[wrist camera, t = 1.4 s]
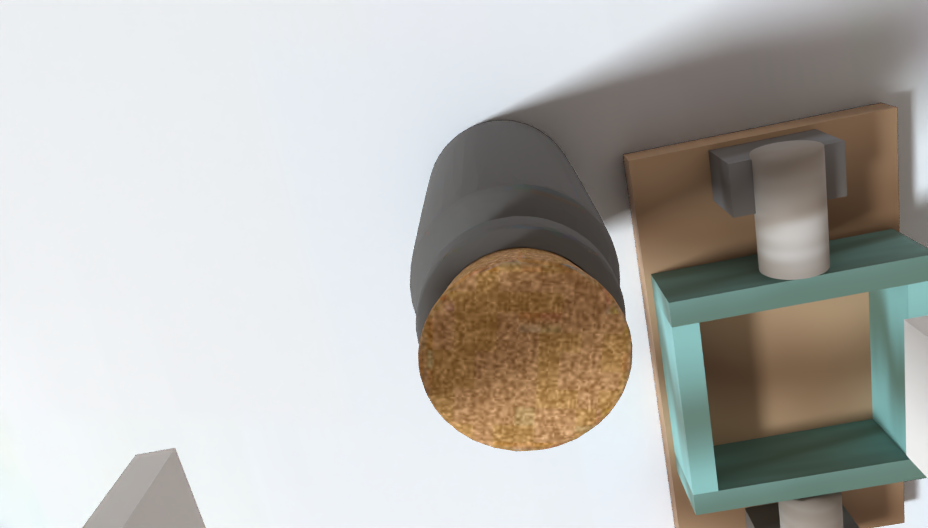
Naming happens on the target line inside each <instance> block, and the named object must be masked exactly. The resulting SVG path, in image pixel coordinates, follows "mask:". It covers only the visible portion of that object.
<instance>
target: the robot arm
mask: <svg viewBox="0 0 928 528" xmlns="http://www.w3.org/2000/svg"><path fill="white" fill-rule="evenodd" d="M904 347H905V408H906V456H907V457H908V458H909V459H910V460H911V461H912V462H913V463H914V464H915V465H916V466H917V467H918V468H919V470H920V471H921V472H922V473H923V474H924V475H925V476H926V477H927V478H928V315H927V316H921V317H915V318H910V319H904ZM83 528H206V527H205V525H204V522H203V520H202V517H201V514H200V512H199V509H198V507H197V504H196V501H195V499H194V496H193V494H192V491H191V488H190V486H189V483H188V480H187V478H186V475H185V473H184V470H183V467H182V465H181V462H180V460H179V457H178V454H177V452H176V449H175V448H172V449H166V450H161V451H155V452H149V453H143V454H138V455H135V457H134V458H133V459H132V461H131V462H130V463H129V465H128V466H127V468H126V469H125V470H124V472H123V473H122V474H121V476H120V477H119V478H118V480H117V481H116V483H115V484H114V485H113V487H112V488H111V489H110V491H109V492H108V493H107V495H106V496H105V498H104V499H103V500H102V502H101V503H100V504H99V506H98V507H97V508H96V510H95V511H94V513H93V514H92V515H91V517H90V518H89V519H88V521H87V522H86V523H85V525H84V526H83Z"/></svg>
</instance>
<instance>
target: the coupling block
mask: <svg viewBox="0 0 928 528" xmlns="http://www.w3.org/2000/svg"><path fill="white" fill-rule="evenodd" d="M623 159H624V166H625V173H626V180H627V188H628V195H629V202H630V209H631V216H632V223H633V231H634V238H635V245H636V252H637V259H638V266H639V274H640V281H641V288H642V295H643V302H644V309H645V317H646V324H647V331H648V338H649V345H650V352H651V360H652V367H653V374H654V381H655V388H656V395H657V403H658V410H659V417H660V424H661V431H662V438H663V446H664V453H665V460H666V467H667V474H668V481H669V489H670V496H671V503H672V510H673V517H674V524H675V528H874V527H880V526H887V525H893V524H899V523H904V481H910V480H916V479H922V478H927V477H926V476H925V475H924V474H923V473H922V472H921V471H920V470H919V468H918V467H917V466H916V465H915V464H914V463H913V462H912V461H911V460H910V459H909V458H908V457H907V456H906V408H905V347H904V319H910V318H915V317H921V316H927V315H928V248H926V247H924V246H922V245H921V244H919V243H917V242H915V241H914V240H912V239H910V238H908V237H907V236H905V235H903V234H901V233H900V232H899V180H898V122H897V107H894V106H891V105H887V104H883V103H878V104H873V105H868V106H863V107H858V108H853V109H848V110H843V111H838V112H833V113H828V114H823V115H818V116H813V117H808V118H803V119H798V120H793V121H788V122H783V123H778V124H773V125H768V126H763V127H758V128H753V129H748V130H743V131H738V132H733V133H728V134H723V135H718V136H713V137H708V138H703V139H698V140H693V141H688V142H683V143H678V144H673V145H668V146H663V147H658V148H653V149H648V150H643V151H638V152H633V153H628V154H623Z"/></svg>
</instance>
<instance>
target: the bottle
mask: <svg viewBox="0 0 928 528" xmlns="http://www.w3.org/2000/svg"><path fill="white" fill-rule="evenodd" d="M410 290H411V298H412V303H413V307H414V310H415V313H416V332H417V337H418V343H419V351H418V360H419V370H420V376H421V379H422V382H423V385H424V388H425V391H426V393H427V395H428V397H429V399H430V401H431V402H432V404H433V406H434V407H435V409H436V410H437V411H438V412H439V414H440V415H441V416H442V417H443V418H444V419H445V420H446V421H447V422H448V423H449V424H450V425H452V426H453V427H454V428H455V429H456V430H458V431H459V432H461V433H462V434H464V435H466V436H467V437H469V438H471V439H472V440H475V441H477V442H480V443H482V444H485V445H488V446H491V447H494V448H500V449H506V450H512V451H531V450H542V449H548V448H552V447H556V446H559V445H562V444H564V443H567V442H569V441H572V440H574V439H577V438H578V437H580V436H581V435H583V434H584V433H586V432H588V431H589V430H591V429H592V428H593V427H595V426H596V425H598V424H599V423H600V422H601V421H602V420H603V419H604V418H605V417H606V416H607V415H608V414H609V413H610V411H611V410H612V409H613V407H614V406H615V405H616V403H617V402H618V400H619V398H620V397H621V395H622V393H623V391H624V388H625V386H626V383H627V381H628V378H629V374H630V370H631V364H632V341H631V335H630V330H629V327H628V324H627V322H626V318H625V305H624V299H623V295H622V292H621V289H620V274H619V263H618V259H617V255H616V251H615V248H614V245H613V242H612V240H611V237H610V235H609V233H608V231H607V229H606V227H605V225H604V223H603V221H602V219H601V217H600V215H599V214H598V212H597V210H596V208H595V207H594V205H593V203H592V201H591V200H590V198H589V196H588V194H587V192H586V191H585V189H584V187H583V185H582V184H581V182H580V180H579V178H578V177H577V175H576V173H575V171H574V170H573V168H572V166H571V165H570V163H569V161H568V160H567V158H566V156H565V155H564V153H563V152H562V151H561V149H560V148H559V147H558V146H557V144H556V143H555V142H554V141H553V140H552V139H550V138H549V137H548V136H547V135H545V134H544V133H542V132H541V131H539V130H538V129H536V128H534V127H532V126H529V125H527V124H524V123H520V122H516V121H507V120H498V121H489V122H485V123H481V124H478V125H475V126H473V127H471V128H469V129H467V130H465V131H463V132H462V133H460V134H459V135H457V136H456V137H455V138H454V139H453V140H452V141H451V142H450V143H449V144H448V145H447V146H446V147H445V148H444V149H443V151H442V152H441V154H440V155H439V157H438V159H437V161H436V163H435V165H434V168H433V170H432V173H431V176H430V180H429V184H428V188H427V192H426V196H425V201H424V205H423V209H422V214H421V218H420V223H419V228H418V232H417V237H416V241H415V246H414V251H413V256H412V262H411V275H410Z"/></svg>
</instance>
